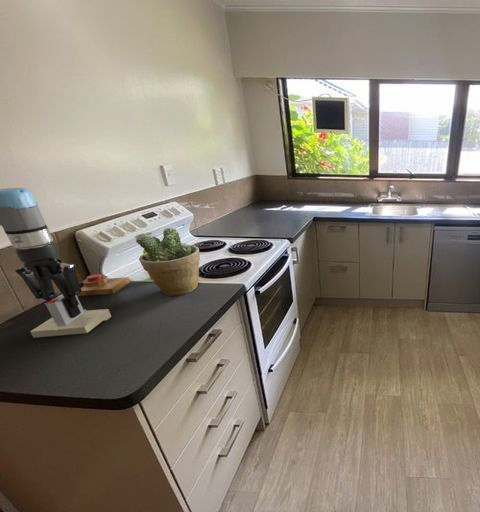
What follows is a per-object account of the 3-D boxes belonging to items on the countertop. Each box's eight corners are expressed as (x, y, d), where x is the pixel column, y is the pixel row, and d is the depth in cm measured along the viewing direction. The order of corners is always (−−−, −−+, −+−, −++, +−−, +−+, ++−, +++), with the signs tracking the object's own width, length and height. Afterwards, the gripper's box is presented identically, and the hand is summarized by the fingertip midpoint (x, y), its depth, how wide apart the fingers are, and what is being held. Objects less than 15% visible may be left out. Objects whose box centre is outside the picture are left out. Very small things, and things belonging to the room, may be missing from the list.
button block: (76, 296, 108) (72, 287, 107) (96, 284, 118) (92, 275, 116) (113, 293, 110) (109, 284, 109) (130, 281, 119) (127, 273, 118)
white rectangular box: (76, 313, 92) (65, 291, 89) (84, 312, 93) (74, 290, 90) (56, 326, 86) (44, 302, 83) (66, 325, 86) (54, 302, 83)
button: (85, 282, 111) (83, 278, 110) (93, 278, 115) (91, 274, 114) (97, 281, 111) (95, 277, 111) (104, 277, 115) (103, 273, 114)
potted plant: (170, 279, 121) (152, 222, 112) (216, 277, 123) (202, 221, 114) (140, 302, 105) (116, 237, 95) (194, 299, 106) (175, 235, 97)
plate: (32, 341, 84) (27, 332, 83) (65, 319, 95) (61, 311, 93) (86, 336, 86) (82, 327, 85) (112, 315, 97) (109, 307, 96)
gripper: (-14, 251, 75) (28, 325, 84) (55, 248, 78) (89, 320, 87) (15, 242, 82) (51, 311, 91) (78, 239, 85) (107, 307, 94)
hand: (69, 315), depth 89 cm, fingers open, 3 cm apart
